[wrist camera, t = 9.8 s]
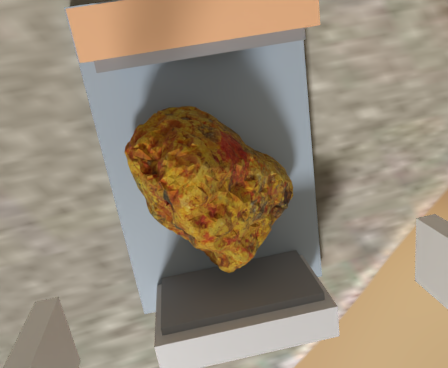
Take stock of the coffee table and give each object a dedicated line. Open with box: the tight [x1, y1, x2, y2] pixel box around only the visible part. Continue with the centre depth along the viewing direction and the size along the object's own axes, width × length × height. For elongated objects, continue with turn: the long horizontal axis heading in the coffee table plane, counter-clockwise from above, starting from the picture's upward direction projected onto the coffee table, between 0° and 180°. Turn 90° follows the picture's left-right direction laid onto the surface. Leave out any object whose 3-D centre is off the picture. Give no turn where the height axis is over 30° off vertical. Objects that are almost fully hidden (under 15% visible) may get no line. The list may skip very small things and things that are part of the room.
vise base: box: [64, 0, 339, 368], centre depth 26 cm, size 15×23×8 cm, turn 8°
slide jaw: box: [66, 0, 320, 73], centre depth 22 cm, size 12×3×7 cm, turn 98°
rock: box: [124, 106, 293, 273], centre depth 26 cm, size 11×8×10 cm
